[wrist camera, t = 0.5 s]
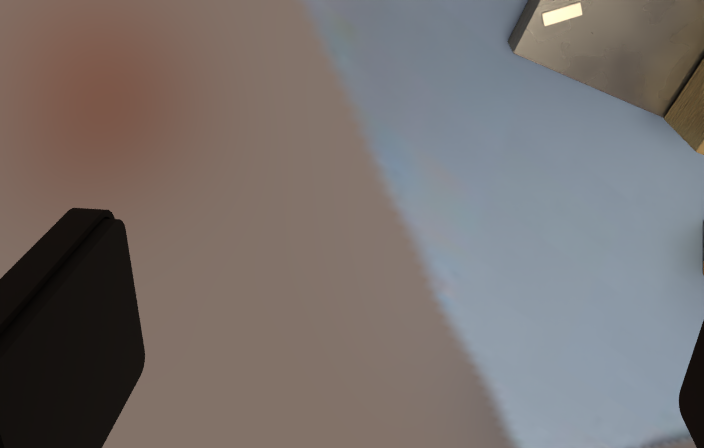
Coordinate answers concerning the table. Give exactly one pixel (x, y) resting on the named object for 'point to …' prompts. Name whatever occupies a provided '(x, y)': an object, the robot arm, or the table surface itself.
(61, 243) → the robot arm
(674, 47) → the spindle plate
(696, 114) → the wooden block ring
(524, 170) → the table surface
